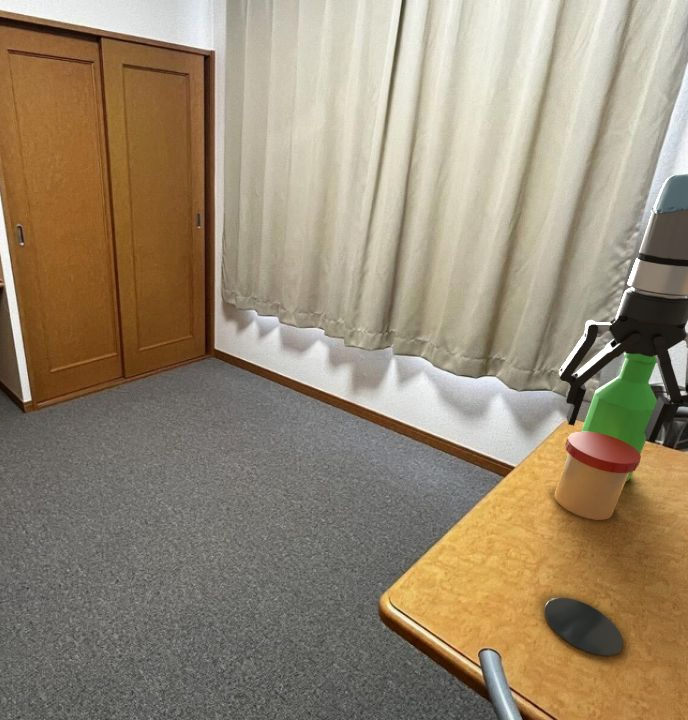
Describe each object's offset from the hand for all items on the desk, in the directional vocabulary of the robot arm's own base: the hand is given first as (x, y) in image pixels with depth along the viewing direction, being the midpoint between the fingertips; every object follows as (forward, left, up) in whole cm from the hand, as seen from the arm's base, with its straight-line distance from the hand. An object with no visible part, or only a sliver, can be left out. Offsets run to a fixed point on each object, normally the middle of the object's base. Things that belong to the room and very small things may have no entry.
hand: (608, 429), depth 75 cm
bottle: (-4, -13, -15) cm, 21 cm away
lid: (0, 0, -4) cm, 4 cm away
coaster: (+3, +28, -15) cm, 32 cm away
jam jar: (0, 0, -15) cm, 15 cm away
